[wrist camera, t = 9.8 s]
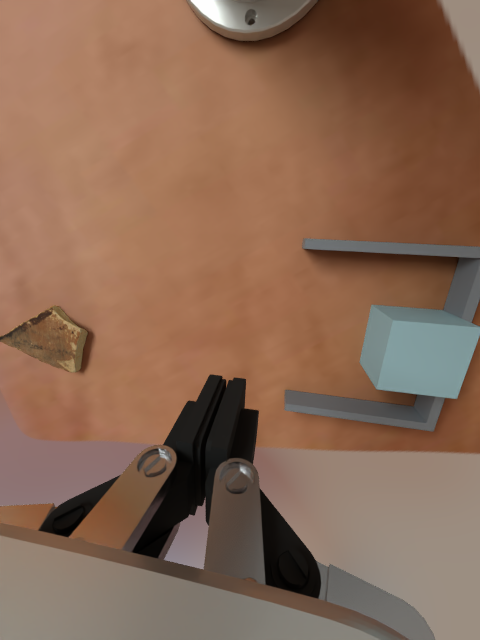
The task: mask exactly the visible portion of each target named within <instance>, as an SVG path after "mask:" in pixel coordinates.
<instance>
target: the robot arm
mask: <svg viewBox="0 0 480 640" xmlns="http://www.w3.org/2000/svg"><path fill="white" fill-rule="evenodd" d="M187 2H188V4H189V6H190V7H191V8H192V10H193V11H194V12H195V14H196V15H197V16H198V18H199V19H200V20H201V21H202V22H204V23H205V24H206V25H207V26H208V27H209V28H210V29H211V30H213V31H215V32H217V33H219V34H221V35H222V36H224V37H227V38H231V39H235V40H239V41H257V40H261V39H265V38H269V37H272V36H274V35H276V34H278V33H280V32H282V31H284V30H286V29H288V28H290V27H291V26H292V25H293V24H295V23H296V22H297V21H299V20H300V19H301V18H303V17H304V16H305V15H306V13H307V12H308V11H309V10H310V9H311V8H312V7H313V6H314V5H315V4H316V3H317V2H318V0H187ZM251 24H253V25H251ZM250 25H251V26H250ZM245 389H246V379H242V378H234V379H233V380H229V381H228V384H227V387H226V380H225V379H222V376H218V375H209V377H208V379H207V381H206V383H205V385H204V387H203V389H202V391H201V393H200V395H199V397H198V399H197V401H196V402H195V401H188V402H187V403H186V405H185V407H184V408H183V410H182V412H181V414H180V415H179V417H178V419H177V421H176V423H175V424H174V426H173V428H172V430H171V432H170V433H169V435H168V437H167V439H166V440H165V442H164V444H163V445H154V446H151V447H148V448H147V449H145V450H143V451H142V452H141V453H140V454H139V455H137V457H136V458H135V459H134V460H133V461H132V462H131V464H130V465H129V466H128V467H127V468H126V470H125V471H124V472H123V474H121V475H120V476H118V477H115V478H113V479H111V480H109V481H107V482H105V483H103V484H101V485H99V486H97V487H95V488H92V489H90V490H88V491H86V492H84V493H82V494H80V495H78V496H76V497H74V498H72V499H69V500H68V501H66V502H64V503H63V504H61V505H59V506H58V507H55V505H54V503H48V504H29V505H9V506H0V640H435V637H434V634H433V632H432V631H431V629H430V627H429V626H428V624H427V622H426V621H425V619H424V618H423V617H422V616H421V615H420V614H419V612H418V611H417V610H416V609H415V608H414V607H412V606H411V605H410V604H408V603H407V602H405V601H404V600H402V599H400V598H398V597H396V596H394V595H392V594H390V593H388V592H386V591H384V590H382V589H380V588H378V587H376V586H374V585H372V584H370V583H368V582H366V581H364V580H362V579H360V578H358V577H356V576H354V575H352V574H350V573H347V572H346V571H344V570H341V569H339V568H337V567H335V566H333V565H331V564H330V565H329V567H327V566H325V565H323V564H321V563H319V562H317V561H316V560H315V559H314V557H313V555H312V554H311V552H310V551H309V550H308V548H307V547H306V546H305V545H304V543H303V542H302V541H301V540H300V538H299V537H298V536H297V535H296V533H295V532H294V531H293V530H292V528H291V527H290V526H289V525H288V523H287V522H286V521H285V519H284V518H283V517H282V516H281V514H280V513H279V512H278V511H277V509H276V508H275V507H274V506H273V505H272V503H271V502H270V501H269V499H268V498H267V497H266V496H265V494H264V493H263V492H262V491H261V489H260V487H259V476H258V472H257V470H256V468H255V467H254V465H253V460H254V452H255V445H256V436H257V426H258V414H259V411H258V410H251V409H244V407H245ZM205 496H206V522H207V524H208V526H209V529H208V538H207V546H206V555H205V563H204V570H203V569H199V568H195V567H190V566H186V565H182V564H178V563H174V562H170V561H165V560H164V558H165V556H166V554H167V552H168V550H169V548H170V546H171V544H172V542H173V540H174V538H175V536H176V534H177V532H178V529H179V526H180V522H181V521H183V520H184V519H186V518H187V517H188V516H189V514H190V515H195V512H196V509H197V506H202V505H203V503H204V500H205Z"/></svg>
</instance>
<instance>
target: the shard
mask: <svg viewBox="0 0 480 640" xmlns="http://www.w3.org/2000/svg"><path fill="white" fill-rule="evenodd" d="M87 334H88V333H87V331H86V330H85V329H82V328H80V327H78V326H77V325H76V324H74V323H73V322H72V321H71V320H70V319H69V318H68V316H67V315H66V314H65V313H64V312H63V311H62V309H61V308H60V307H59V306H52V307H50V308H49V309H47V310H46V311H44V312H42V313H40V314H38V315H37V316H36V317H33V318H31V319H30V320H28V321H26V322H24V323H22V324H21V325H19V326H17V327H15V328H14V329H13V330H11V331H10V332H9V333H7V334H6V335H4V336H0V342H3V343H4V344H7V345H8V346H11V347H15V348H17V349H18V350H21V351H22V352H24V353H26V354H28V355H30V356H32V357H34V358H37V359H38V360H40V361H42V362H45V363H48V364H50V365H52V366H54V367H57V368H61V369H64V370H66V371H68V372H77V371H79V370H80V369H81V362H82V355H83V347H84V344H85V341H86V337H87Z"/></svg>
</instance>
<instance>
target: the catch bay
mask: <svg viewBox="0 0 480 640" xmlns="http://www.w3.org/2000/svg"><path fill="white" fill-rule="evenodd" d="M302 248H303V249H317V250H336V251H355V252H374V253H393V254H411V255H430V256H449V257H459V261H458V264H457V267H456V270H455V274H454V277H453V280H452V283H451V287H450V290H449V293H448V296H447V300H446V303H445V306H444V309H443V311H445V312H448V313H450V314H452V315H455V316H457V317H459V318H461V319H464V320H466V321H468V322H470V323H472V320H473V317H474V314H475V311H476V308H477V306H478V303H479V300H480V247H472V246H451V245H430V244H409V243H388V242H367V241H346V240H325V239H303V244H302ZM444 400H445V398H444V397H436V396H428V395H419V394H417V397H416V400H415V404H414V407H413V406H405V405H397V404H390V403H382V402H375V401H367V400H359V399H352V398H344V397H337V396H329V395H322V394H314V393H306V392H299V391H291V390H285V410H286V411H293V412H300V413H307V414H314V415H321V416H328V417H335V418H342V419H349V420H356V421H363V422H370V423H377V424H384V425H391V426H398V427H405V428H412V429H419V430H426V431H434V429H435V426H436V423H437V420H438V417H439V414H440V411H441V409H442V406H443V403H444Z"/></svg>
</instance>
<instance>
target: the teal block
mask: <svg viewBox="0 0 480 640" xmlns="http://www.w3.org/2000/svg"><path fill="white" fill-rule="evenodd" d="M479 336H480V327H479V326H477V325H475V324H473V323H470V322H468V321H466V320H464V319H461V318H459V317H457V316H455V315H452V314H450V313H448V312H445V311H443V310H434V309H421V308H408V307H395V306H382V305H372V306H371V310H370V315H369V320H368V325H367V329H366V334H365V339H364V344H363V349H362V353H361V358H360V364H361V365H362V367H363V369H364V370H365V372H366V373H367V375H368V377H369V378H370V380H371V381H372V383H373V385H374V386H375V388H376V389H378V390H386V391H394V392H403V393H411V394H419V395H428V396H436V397H444V398H453V399H457V397H458V394H459V392H460V389H461V386H462V383H463V380H464V378H465V375H466V372H467V369H468V367H469V364H470V361H471V358H472V355H473V353H474V350H475V347H476V344H477V341H478V339H479Z"/></svg>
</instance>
